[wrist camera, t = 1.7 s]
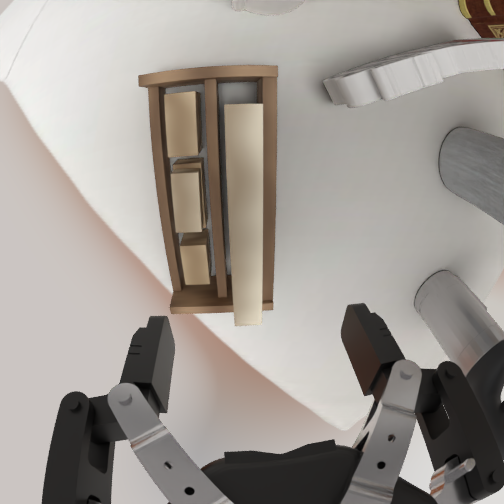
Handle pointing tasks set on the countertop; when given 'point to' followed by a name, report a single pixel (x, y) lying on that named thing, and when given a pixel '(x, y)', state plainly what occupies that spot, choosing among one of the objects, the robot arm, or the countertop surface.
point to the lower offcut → (200, 164)
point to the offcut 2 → (196, 257)
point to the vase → (475, 169)
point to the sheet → (245, 208)
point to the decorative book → (485, 16)
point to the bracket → (266, 6)
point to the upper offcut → (187, 199)
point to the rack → (213, 180)
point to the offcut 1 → (183, 123)
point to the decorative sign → (414, 70)
